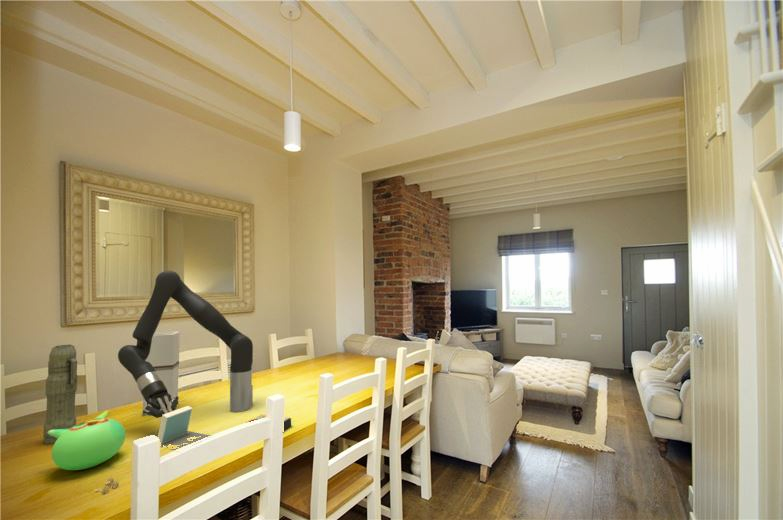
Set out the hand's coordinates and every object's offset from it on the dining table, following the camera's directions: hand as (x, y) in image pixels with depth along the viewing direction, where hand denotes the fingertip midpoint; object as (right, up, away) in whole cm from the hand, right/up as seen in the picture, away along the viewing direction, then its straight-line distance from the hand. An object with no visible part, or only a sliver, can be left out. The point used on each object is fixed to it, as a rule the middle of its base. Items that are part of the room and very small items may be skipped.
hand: (172, 423), depth 131 cm
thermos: (-44, -7, +1) cm, 44 cm away
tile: (0, -5, -1) cm, 5 cm away
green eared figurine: (-15, -5, -18) cm, 24 cm away
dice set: (+2, -5, -32) cm, 32 cm away
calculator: (+33, -6, +6) cm, 34 cm away
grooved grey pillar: (-25, -9, +31) cm, 40 cm away
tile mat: (+5, -6, -2) cm, 8 cm away
